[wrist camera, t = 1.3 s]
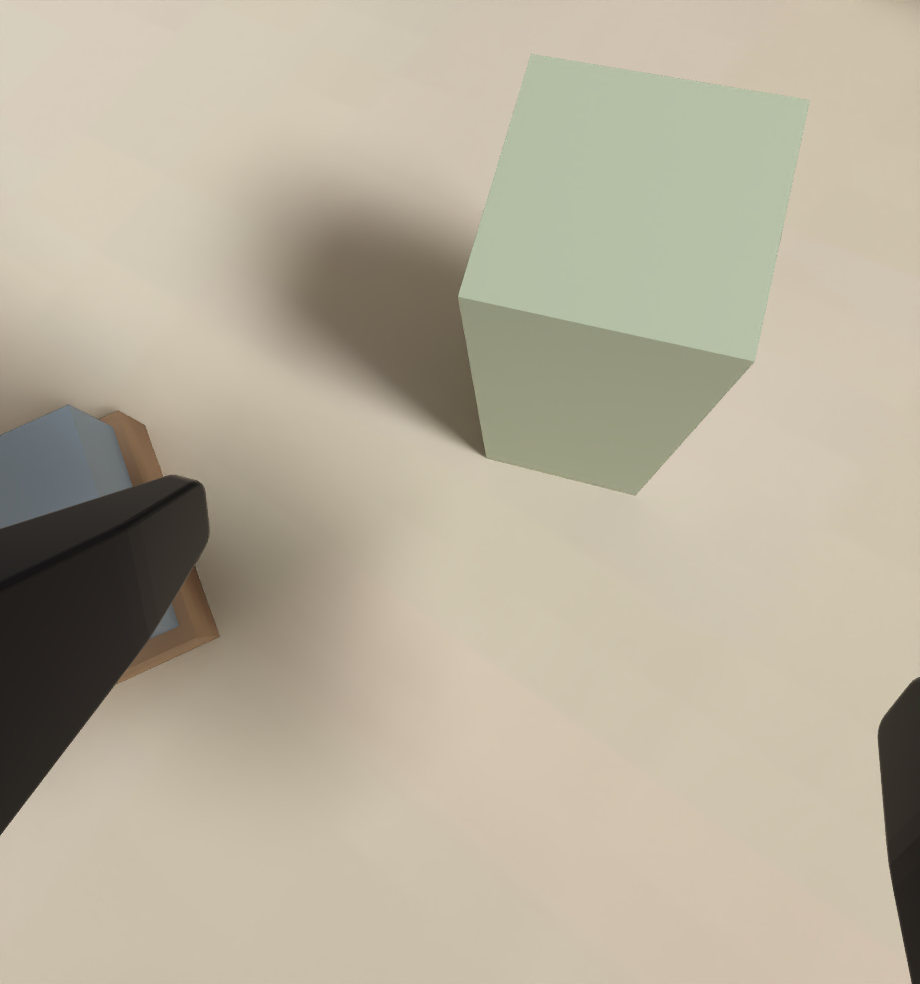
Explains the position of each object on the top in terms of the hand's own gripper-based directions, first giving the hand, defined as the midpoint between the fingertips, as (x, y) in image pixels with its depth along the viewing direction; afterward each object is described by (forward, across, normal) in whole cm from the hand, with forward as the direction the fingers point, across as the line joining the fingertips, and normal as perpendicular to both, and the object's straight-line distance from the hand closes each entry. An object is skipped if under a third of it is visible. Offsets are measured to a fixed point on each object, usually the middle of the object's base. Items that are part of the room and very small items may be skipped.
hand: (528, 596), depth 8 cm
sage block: (+14, 0, +4) cm, 15 cm away
